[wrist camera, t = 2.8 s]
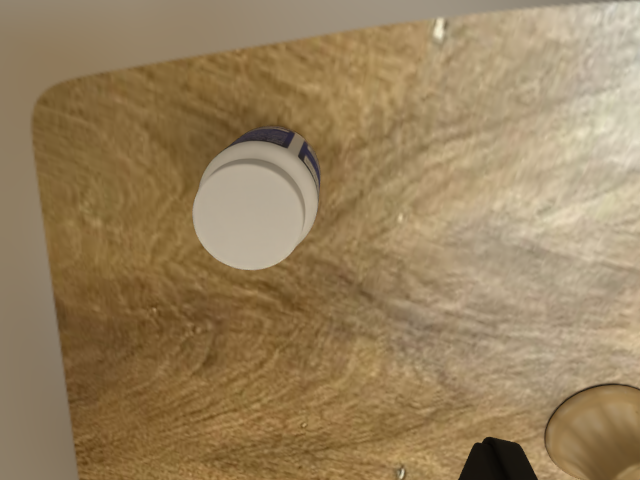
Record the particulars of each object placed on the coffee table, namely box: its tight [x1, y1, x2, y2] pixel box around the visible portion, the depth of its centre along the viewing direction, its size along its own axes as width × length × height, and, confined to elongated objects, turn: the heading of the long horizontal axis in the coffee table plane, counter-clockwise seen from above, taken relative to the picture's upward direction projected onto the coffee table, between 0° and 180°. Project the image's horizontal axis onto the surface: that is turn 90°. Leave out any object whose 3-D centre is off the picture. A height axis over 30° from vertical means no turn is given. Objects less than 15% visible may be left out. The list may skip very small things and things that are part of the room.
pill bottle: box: [193, 126, 320, 270], centre depth 25 cm, size 6×6×10 cm
